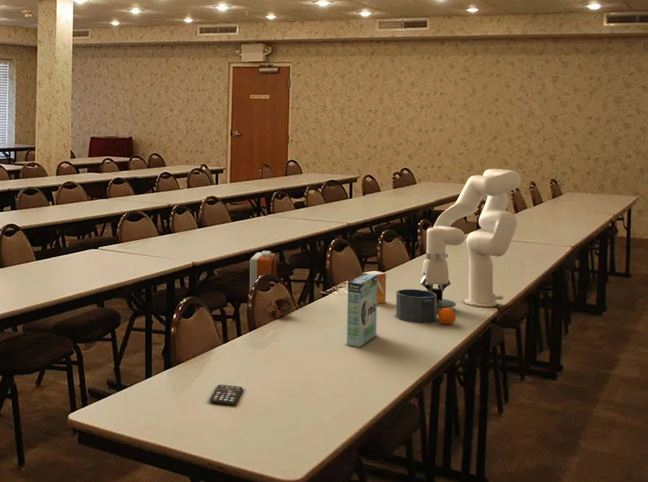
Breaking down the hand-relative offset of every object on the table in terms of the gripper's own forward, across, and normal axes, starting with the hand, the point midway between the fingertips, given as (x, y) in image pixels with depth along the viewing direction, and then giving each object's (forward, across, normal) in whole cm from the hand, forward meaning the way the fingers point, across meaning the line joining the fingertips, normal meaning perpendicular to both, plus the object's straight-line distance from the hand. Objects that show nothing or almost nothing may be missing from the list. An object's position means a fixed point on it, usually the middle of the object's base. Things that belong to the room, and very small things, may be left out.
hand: (435, 299), depth 350 cm
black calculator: (+6, +117, +95) cm, 150 cm away
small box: (+4, +21, -14) cm, 25 cm away
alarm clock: (+5, +66, -31) cm, 73 cm away
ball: (+4, +9, +25) cm, 27 cm away
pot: (+4, +16, +14) cm, 21 cm away
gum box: (+5, +52, +43) cm, 67 cm away
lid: (+2, 0, 0) cm, 2 cm away
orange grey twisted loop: (+5, +71, +4) cm, 71 cm away
